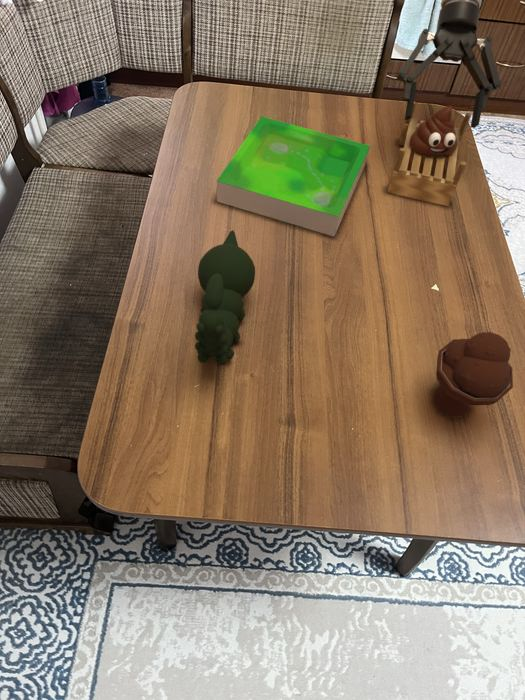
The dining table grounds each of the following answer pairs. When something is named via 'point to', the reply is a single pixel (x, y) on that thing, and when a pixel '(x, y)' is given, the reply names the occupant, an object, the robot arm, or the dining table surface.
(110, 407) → the dining table surface
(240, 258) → the toy figurine
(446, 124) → the poop emoji
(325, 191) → the green terrain map board
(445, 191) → the brown wooden slatted frame
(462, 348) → the ice cream bowl
